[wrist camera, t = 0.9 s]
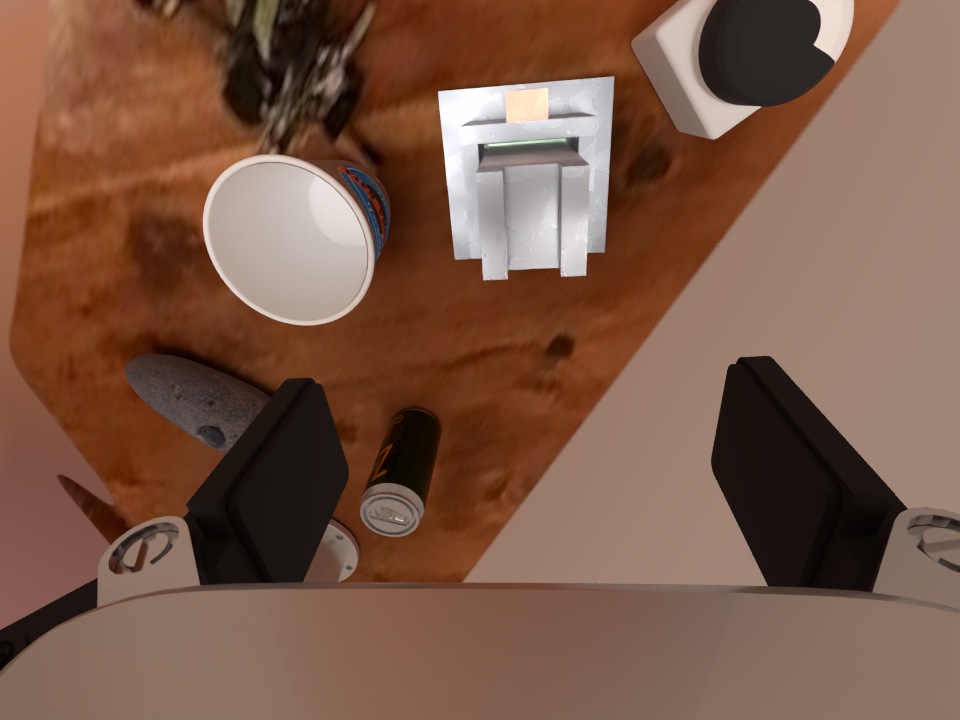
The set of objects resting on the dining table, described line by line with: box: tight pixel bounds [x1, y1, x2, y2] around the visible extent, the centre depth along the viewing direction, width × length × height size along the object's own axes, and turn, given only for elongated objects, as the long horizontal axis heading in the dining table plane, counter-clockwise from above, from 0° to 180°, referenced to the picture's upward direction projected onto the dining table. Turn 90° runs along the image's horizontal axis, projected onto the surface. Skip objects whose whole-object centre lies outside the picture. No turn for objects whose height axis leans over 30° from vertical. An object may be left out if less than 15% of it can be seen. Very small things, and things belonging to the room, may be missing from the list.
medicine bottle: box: [631, 0, 854, 139], centre depth 27 cm, size 7×7×12 cm
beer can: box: [360, 408, 441, 537], centre depth 44 cm, size 5×5×12 cm
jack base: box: [438, 76, 614, 260], centre depth 33 cm, size 12×12×8 cm
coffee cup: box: [203, 154, 391, 325], centre depth 34 cm, size 10×10×12 cm
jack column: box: [476, 138, 590, 280], centre depth 29 cm, size 5×5×15 cm
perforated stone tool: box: [125, 354, 271, 454], centre depth 45 cm, size 15×5×7 cm, turn 56°
